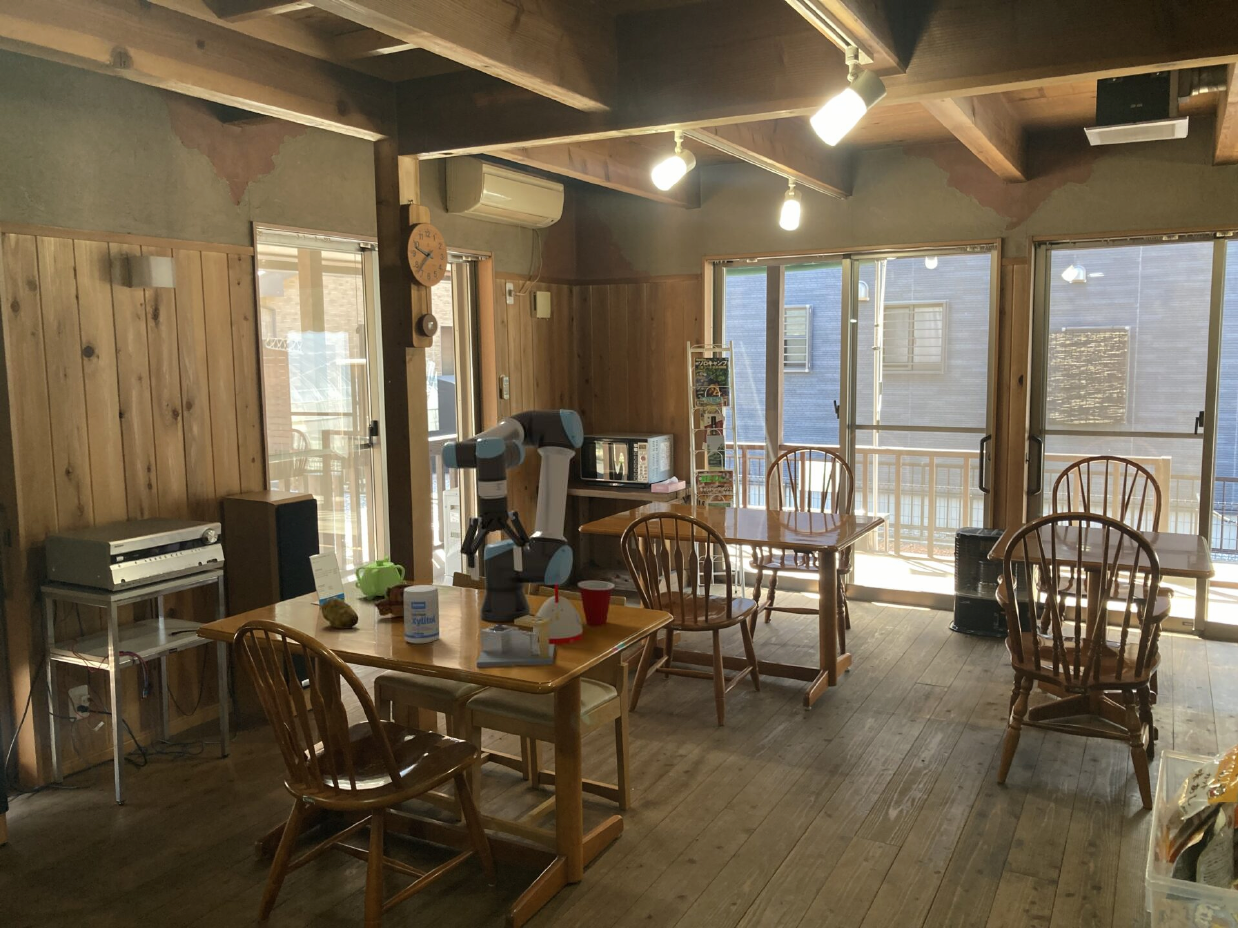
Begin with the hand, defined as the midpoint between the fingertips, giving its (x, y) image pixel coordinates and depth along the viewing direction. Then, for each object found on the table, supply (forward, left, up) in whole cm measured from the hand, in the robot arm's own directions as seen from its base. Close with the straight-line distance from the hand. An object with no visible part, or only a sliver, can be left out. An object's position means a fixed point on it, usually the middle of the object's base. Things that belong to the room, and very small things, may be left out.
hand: (497, 574), depth 255 cm
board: (+8, +5, -20) cm, 22 cm away
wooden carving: (-40, -34, -21) cm, 56 cm away
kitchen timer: (-10, +15, -21) cm, 27 cm away
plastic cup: (-24, +26, -21) cm, 41 cm away
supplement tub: (-12, -23, -21) cm, 33 cm away
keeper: (+11, +10, -19) cm, 24 cm away
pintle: (+4, 0, -19) cm, 19 cm away
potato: (-30, -51, -21) cm, 62 cm away
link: (+7, +4, -19) cm, 21 cm away
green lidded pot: (-70, -47, -21) cm, 87 cm away
